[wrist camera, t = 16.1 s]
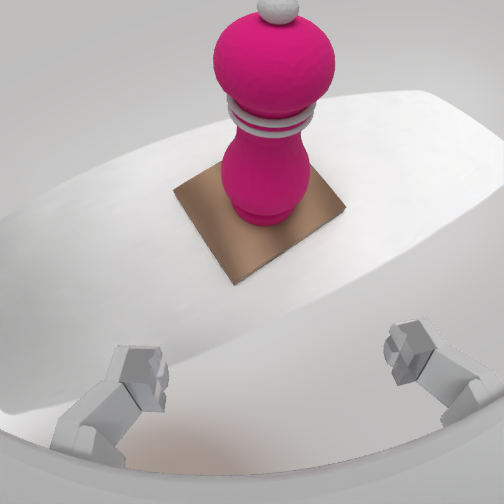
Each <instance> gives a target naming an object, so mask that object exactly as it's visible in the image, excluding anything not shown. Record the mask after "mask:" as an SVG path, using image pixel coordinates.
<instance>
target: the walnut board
mask: <svg viewBox="0 0 504 504" xmlns="http://www.w3.org/2000/svg"><path fill="white" fill-rule="evenodd" d="M221 164H222V161H221V162H219V163H217V164H215V165H214V166H212V167H210V168H209V169H207V170H205V171H203V172H202V173H200V174H198V175H197V176H195V177H193V178H192V179H190V180H188V181H187V182H185V183H183V184H182V185H180V186H179V187H177V188H175V189H174V190H173V191H174V193H175V195H176V197H177V198H178V200H179V202H180V203H181V205H182V206H183V208H184V209H185V211H186V213H187V214H188V216H189V217H190V219H191V220H192V222H193V223H194V225H195V227H196V228H197V230H198V231H199V233H200V234H201V236H202V237H203V239H204V240H205V242H206V244H207V245H208V247H209V248H210V250H211V251H212V253H213V254H214V256H215V257H216V259H217V260H218V262H219V263H220V265H221V266H222V268H223V269H224V271H225V272H226V274H227V275H228V277H229V278H230V280H231V281H232V283H233V284H234V285H235V284H237V283H238V282H240V281H242V280H243V279H245V278H246V277H248V276H249V275H251V274H252V273H254V272H255V271H257V270H258V269H260V268H261V267H263V266H264V265H266V264H267V263H268V262H270V261H271V260H273V259H274V258H276V257H277V256H279V255H280V254H282V253H283V252H285V251H286V250H288V249H289V248H291V247H292V246H294V245H295V244H297V243H298V242H300V241H301V240H303V239H304V238H305V237H307V236H308V235H310V234H311V233H313V232H314V231H316V230H317V229H319V228H320V227H322V226H323V225H324V224H326V223H327V222H329V221H330V220H332V219H333V218H335V217H336V216H338V215H339V214H340V213H342V212H343V211H344V210H345V208H346V206H345V205H344V204H343V202H342V201H341V200H340V199H339V197H338V196H337V195H336V194H335V192H334V191H333V190H332V189H331V188H330V186H329V185H328V184H327V183H326V182H325V180H324V179H323V178H322V177H321V176H320V175H319V173H318V172H317V171H316V170H315V169H314V168H313V167H312V165H311V164H310V179H309V184H308V188H307V191H306V193H305V195H304V196H303V198H302V199H301V200H300V202H299V203H298V204H296V205H295V208H294V210H293V212H292V213H291V214H290V215H289V217H288V218H287V219H285V220H284V221H282V222H280V223H279V224H275V225H272V226H257V225H253V224H250V223H248V222H246V221H245V220H243V219H242V218H241V217H239V216H238V214H237V213H236V212H235V210H234V209H233V207H232V204H231V199H230V198H229V197H228V196H227V194H226V192H225V190H224V188H223V185H222V179H221Z"/></svg>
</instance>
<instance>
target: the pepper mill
mask: <svg viewBox="0 0 504 504" xmlns="http://www.w3.org/2000/svg"><path fill="white" fill-rule="evenodd" d="M257 9H258V12H256V13H252V14H249V15H246V16H244V17H242V18H239V19H237V20H236V21H235V22H233V23H232V24H230V25H229V26H228V27H227V28H226V29H225V30H224V31H223V32H222V34H221V35H220V37H219V39H218V41H217V43H216V47H215V49H214V55H213V64H214V71H215V75H216V79H217V81H218V82H219V84H220V86H221V87H222V89H223V90H224V91H225V92H226V93H227V102H228V111H229V115H230V117H231V119H232V120H233V122H234V123H235V124H236V125H237V133H236V136H235V138H234V140H233V141H232V142H231V143H230V145H229V146H228V148H227V150H226V152H225V154H224V157H223V160H222V164H221V179H222V185H223V188H224V190H225V192H226V194H227V196H228V197H229V198H230V199H231V204H232V207H233V209H234V210H235V212H236V213H237V214H238V216H239V217H241V218H242V219H243V220H245V221H246V222H248V223H250V224H253V225H257V226H272V225H275V224H279V223H280V222H282V221H284V220H285V219H287V218H288V217H289V215H290V214H291V213H292V212H293V210H294V208H295V205H296V204H298V203H299V202H300V200H301V199H302V198H303V196H304V195H305V193H306V191H307V188H308V184H309V179H310V163H309V158H308V154H307V152H306V150H305V148H304V146H303V143H302V140H301V131H302V130H303V129H304V128H306V127H307V126H308V124H309V123H310V122H311V120H312V117H313V113H314V109H315V106H316V101H317V100H318V99H319V98H320V97H321V96H323V95H324V94H325V92H326V91H327V90H328V88H329V86H330V84H331V82H332V79H333V76H334V71H335V55H334V51H333V48H332V46H331V43H330V41H329V39H328V38H327V36H326V35H325V33H324V32H323V31H321V30H320V29H319V28H318V27H317V26H316V25H315V24H313V23H312V22H311V21H309V20H307V19H305V18H303V17H300V16H297V15H298V12H299V4H298V1H297V0H259V1H258V4H257Z"/></svg>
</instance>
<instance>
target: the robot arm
mask: <svg viewBox="0 0 504 504" xmlns="http://www.w3.org/2000/svg"><path fill="white" fill-rule="evenodd" d="M389 333H390V336H389V337H388V338H387V339H386V341H385V344H384V356H385V360H386V362H387V363H388V364H389V365H390V366H392V367H393V369H392V375H393V377H394V379H395V381H396V383H397V386H399V385H403V384H407V383H411V382H414V381H416V382H417V383H418V384H419V385H420V386H422V387H423V388H424V389H425V390H426V391H428V392H429V393H430V394H431V395H433V396H434V397H435V398H436V399H437V400H439V401H440V402H441V403H442V404H444V405H445V406H446V407H447V408H448V409H447V410H446V412H445V413H444V414H443V415H442V416H441V419H440V420H441V422H442V424H443V427H444V428H442V429H440V430H437V431H435V432H433V433H431V434H428V435H425V436H423V437H420V438H418V439H415V440H413V441H410V442H407V443H404V444H402V445H399V446H396V447H393V448H390V449H387V450H383V451H381V452H377V453H374V454H370V455H367V456H363V457H359V458H355V459H351V460H347V461H343V462H338V463H334V464H329V465H324V466H319V467H313V468H307V469H301V470H293V471H286V472H277V473H267V474H254V475H236V476H235V475H234V476H232V475H231V476H202V475H181V474H168V473H158V472H149V471H141V470H135V469H128V468H125V461H126V458H125V456H124V455H123V454H122V453H121V452H120V451H118V450H117V449H116V448H115V447H114V446H115V445H116V444H117V443H118V441H119V440H120V439H121V438H122V437H123V435H124V434H125V433H126V432H127V430H128V429H129V428H130V427H131V426H132V424H133V423H134V422H135V421H136V419H137V418H138V417H139V416H140V414H141V413H142V412H141V411H146V412H164V409H165V402H166V395H165V393H164V390H165V389H166V388H167V387H168V381H169V374H168V367H167V364H166V361H164V360H163V359H161V357H162V352H161V349H160V347H156V346H127V345H118V346H117V347H116V349H115V351H114V354H113V357H112V360H111V363H110V366H109V369H108V372H107V375H106V378H105V381H100V382H99V383H98V384H97V385H96V386H95V387H94V388H92V389H91V390H90V391H89V392H88V393H87V394H86V395H85V396H83V397H82V398H81V399H80V400H79V401H78V402H77V403H75V404H74V405H73V406H72V407H71V408H70V409H69V410H68V411H66V412H65V413H64V414H63V415H62V416H61V417H60V418H59V419H58V422H57V426H56V428H55V432H54V435H53V438H52V442H51V445H50V449H48V448H45V447H42V446H40V445H37V444H34V443H32V442H29V441H26V440H24V439H21V438H18V437H17V436H14V435H12V434H10V433H7V432H5V431H3V430H1V429H0V504H504V386H503V384H502V382H501V381H500V379H499V377H498V376H497V374H496V372H495V371H494V369H492V368H490V367H488V366H487V365H485V364H483V363H482V362H480V361H478V360H476V359H475V358H473V357H471V356H469V355H468V354H466V353H464V352H462V351H461V350H459V349H457V348H455V347H453V346H452V345H447V344H446V342H445V341H444V339H443V338H442V336H441V335H440V333H439V332H438V330H437V329H436V327H435V326H434V324H433V323H432V321H431V320H430V319H429V318H428V317H423V318H418V319H414V320H409V321H404V322H399V323H395V324H393V325H392V326H391V327H390V330H389Z"/></svg>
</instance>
